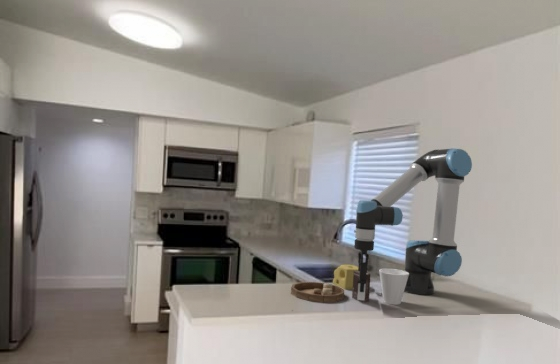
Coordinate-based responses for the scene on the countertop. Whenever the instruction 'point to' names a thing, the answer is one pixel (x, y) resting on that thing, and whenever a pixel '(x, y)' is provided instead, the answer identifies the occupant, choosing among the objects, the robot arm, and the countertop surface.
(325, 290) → the bead
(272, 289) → the countertop surface
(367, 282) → the box
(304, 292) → the walnut tray
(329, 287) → the bead
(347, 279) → the cheese
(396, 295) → the cup
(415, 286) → the robot arm
